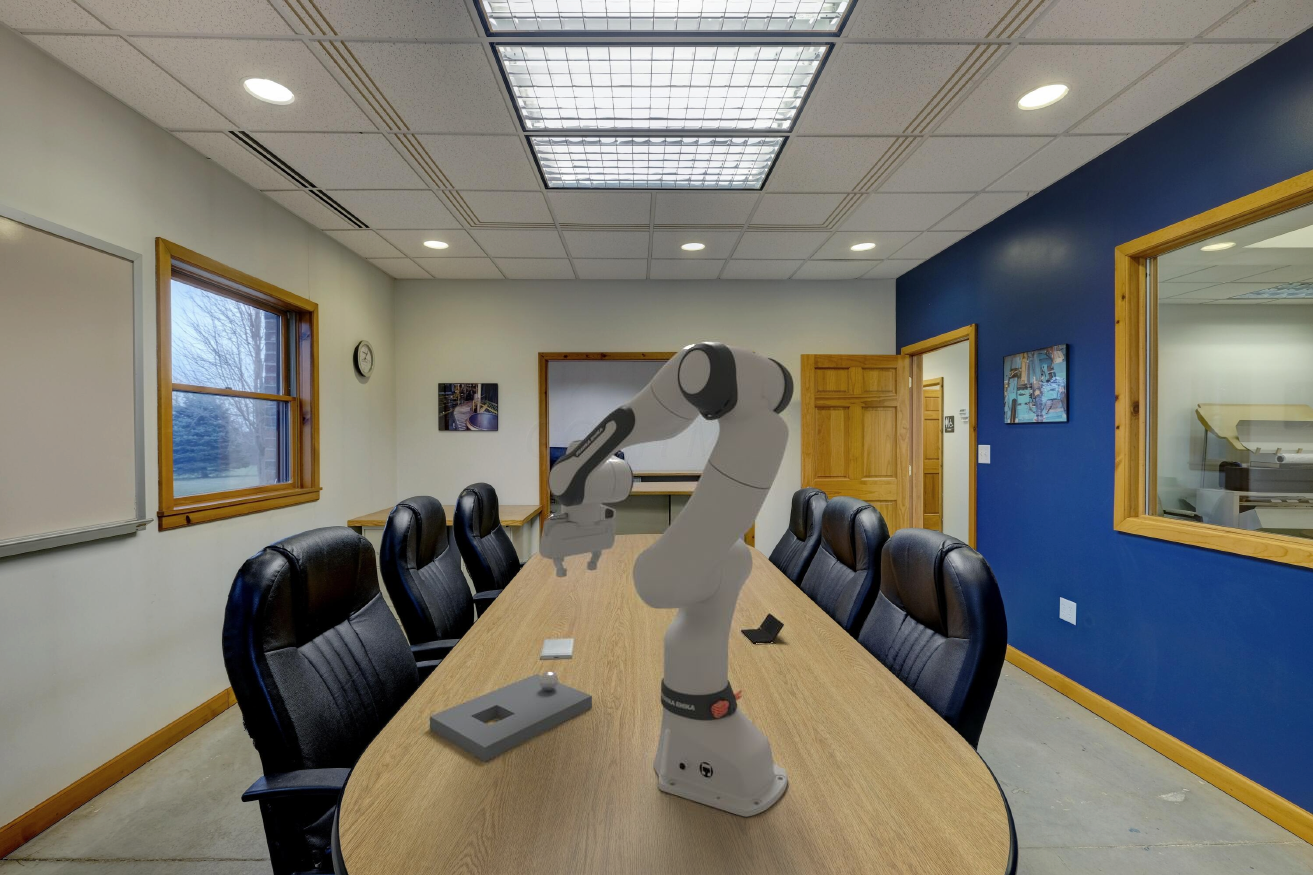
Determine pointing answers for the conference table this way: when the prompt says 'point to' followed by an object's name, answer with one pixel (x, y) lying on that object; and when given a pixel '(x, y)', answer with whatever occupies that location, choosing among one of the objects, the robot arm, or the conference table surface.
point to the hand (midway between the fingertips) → (577, 573)
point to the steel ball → (548, 681)
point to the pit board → (508, 716)
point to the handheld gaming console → (764, 630)
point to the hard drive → (557, 649)
